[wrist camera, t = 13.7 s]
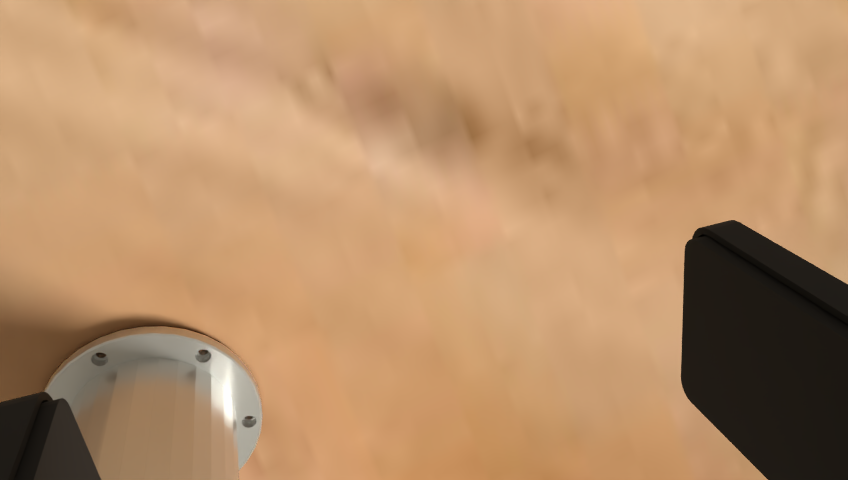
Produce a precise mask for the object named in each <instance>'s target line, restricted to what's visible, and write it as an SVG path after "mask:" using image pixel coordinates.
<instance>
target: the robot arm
mask: <svg viewBox="0 0 848 480" xmlns="http://www.w3.org/2000/svg"><path fill="white" fill-rule="evenodd" d="M203 349H204V350H206V351H201V350H203ZM98 352H101V353H104V354H100V353H98ZM681 382H682V386H683V389H684V392H685V394H686V396H687V397H688V399H689V400H690V401H691V403H692V404H693V405H694V406H695V407H696V408H697V409H698V410H699V411H700V412H701V413H702V414H703V415H704V416H705V417H706V418H707V419H708V420H709V421H710V422H711V423H712V424H713V425H714V426H715V427H716V428H717V429H718V430H719V431H720V432H721V433H722V434H723V435H724V436H725V437H726V438H727V439H728V440H729V441H730V442H731V443H732V444H733V445H734V446H735V447H736V448H737V449H738V450H739V451H740V452H741V453H742V454H743V455H744V456H745V457H746V458H747V459H748V460H749V461H750V462H751V463H752V464H753V465H754V466H755V467H756V468H757V469H758V470H759V471H760V472H761V473H762V474H763V475H764V476H765V477H766V478H767V479H768V480H848V284H846V283H844V282H842V281H841V280H839V279H837V278H835V277H834V276H832V275H830V274H828V273H827V272H825V271H823V270H821V269H820V268H818V267H816V266H814V265H813V264H811V263H809V262H808V261H806V260H804V259H802V258H801V257H799V256H797V255H795V254H794V253H792V252H790V251H788V250H787V249H785V248H783V247H781V246H780V245H778V244H776V243H774V242H773V241H771V240H769V239H768V238H766V237H764V236H762V235H761V234H759V233H757V232H755V231H754V230H752V229H750V228H748V227H747V226H745V225H743V224H741V223H740V222H737V221H735V220H731V221H726V222H722V223H718V224H714V225H710V226H706V227H702V228H699V229H697V230H696V231H695V233H694V235H693V238H692V239H691V240H689V241H688V242H687V244H686V246H685V261H684V295H683V329H682V363H681ZM261 425H262V405H261V398H260V394H259V390H258V386H257V383H256V381H255V379H254V377H253V376H252V374H251V372H250V370H249V369H248V367H247V366H246V365H245V364H244V363H243V361H242V360H241V359H240V358H239V357H238V356H237V355H236V354H235V353H233V352H232V351H231V350H230V349H228V348H227V347H226V346H225V345H223V344H221V343H219V342H217V341H215V340H214V339H212V338H210V337H208V336H206V335H203V334H199V333H196V332H193V331H190V330H187V329H180V328H173V327H166V326H151V327H137V328H132V329H126V330H120V331H117V332H114V333H111V334H109V335H106V336H103V337H100V338H98V339H96V340H94V341H92V342H90V343H89V344H87V345H85V346H83V347H81V348H80V349H78V350H77V351H76V352H75V353H73V354H72V355H71V356H70V357H69V358H67V359H66V360H65V361H64V362H63V363H62V364H61V365H60V367H59V368H58V369H57V370H56V371H55V373H54V374H53V375H52V376H51V378H50V380H49V382H48V384H47V386H46V388H45V390H44V392H40V393H36V394H32V395H28V396H24V397H20V398H16V399H12V400H8V401H4V402H1V403H0V480H239V470H240V469H241V468H242V467H243V466H244V465H245V463H246V462H247V461H248V459H249V457H250V456H251V454H252V452H253V451H254V449H255V447H256V444H257V441H258V438H259V436H260V433H261Z"/></svg>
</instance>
